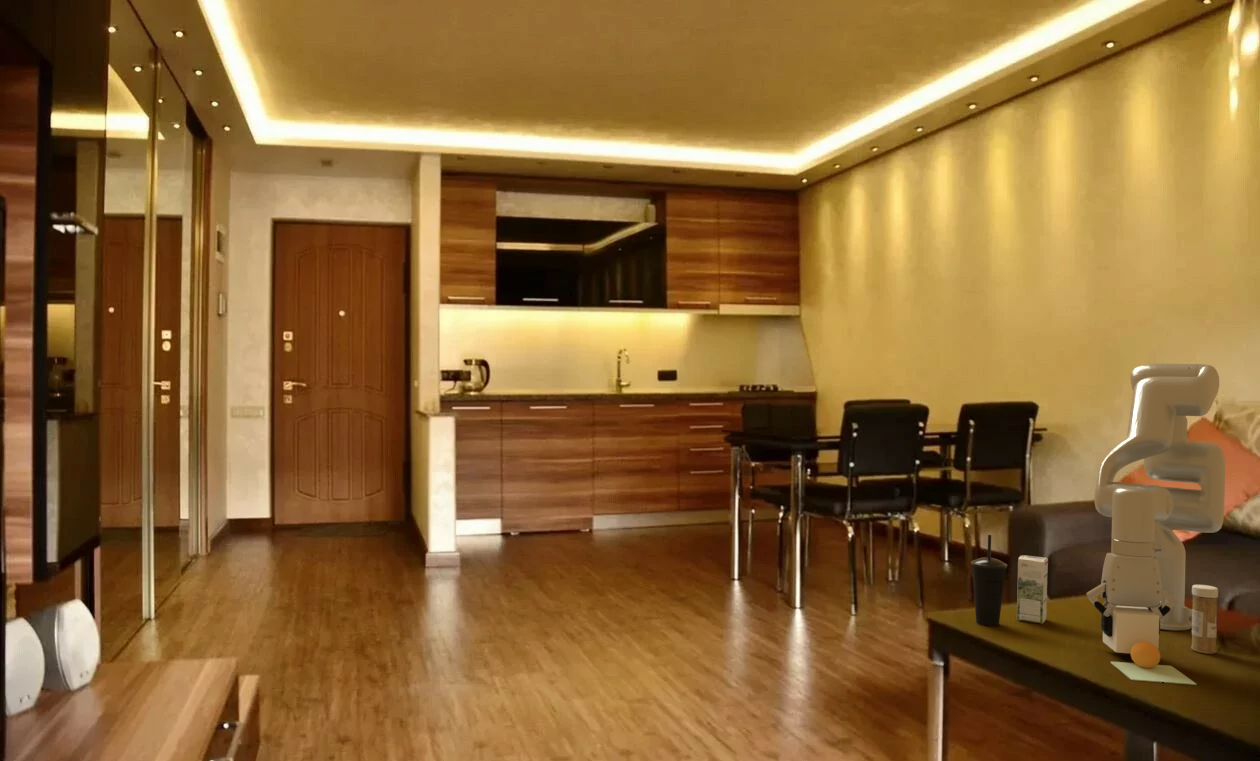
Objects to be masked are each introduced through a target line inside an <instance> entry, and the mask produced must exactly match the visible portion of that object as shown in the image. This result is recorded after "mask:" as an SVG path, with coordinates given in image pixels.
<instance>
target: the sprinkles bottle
mask: <svg viewBox="0 0 1260 761" xmlns="http://www.w3.org/2000/svg"><path fill="white" fill-rule="evenodd" d="M1191 595H1192V608H1191V609H1192V620H1191V623H1192V628H1191V637H1192V638H1191V646H1190V649H1191V651H1194V652H1197V653H1200V654H1206V655H1213V654H1216V653H1217V632H1218V631H1217V622H1218V621H1217V619H1218V618H1217V616H1218V615H1217V603H1218V601H1217V600H1218V597H1219V589H1218V587H1216V586H1213V585H1207V584H1193V585H1192V587H1191Z"/></svg>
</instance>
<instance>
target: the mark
mask: <svg viewBox="0 0 1260 761" xmlns="http://www.w3.org/2000/svg"><path fill="white" fill-rule="evenodd" d="M1110 664H1111V665H1113V666H1114V667H1116V669H1117V670H1118V671H1120V672H1121V673H1122V674H1123V675H1125V676H1126V677H1127V678H1128V679H1129V680H1131V681H1136V682H1149V683H1150V682H1151V683H1162V682H1164V684H1175V685H1176V684H1177V685H1191V686H1197V683H1196V682H1194V681H1193V680H1192V679H1191V678H1189V677H1187V676H1186V675H1185V674H1184V673H1182V672H1180V671H1179V670H1177V668H1175V667H1173V666H1172V665H1166V664H1164V665H1163V664H1157V665H1156V666H1155V667H1153V668H1142V667H1140V666H1138V665H1137V664H1136V663H1135V662H1125V661H1123V662H1122V661H1121V662H1120V661H1110Z"/></svg>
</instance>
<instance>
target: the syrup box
mask: <svg viewBox="0 0 1260 761" xmlns="http://www.w3.org/2000/svg"><path fill="white" fill-rule="evenodd" d="M1017 560H1018V561H1017V593H1016V596H1017V597H1016V598H1017V600H1016V601H1017V602H1016V620H1017V621H1021V622H1029V623H1034V624H1036V623H1037V624H1044V623H1045V621H1046V620H1047V598H1048V595H1047V593H1048V569H1049V567H1048V566H1049V561H1048V560H1049V559H1048V557H1043V556H1042V557H1041V556H1034V555H1033V556H1032V555H1025V554H1024V555H1022V554H1021V555H1020V556H1019V557H1018V559H1017Z"/></svg>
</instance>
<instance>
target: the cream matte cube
mask: <svg viewBox="0 0 1260 761" xmlns="http://www.w3.org/2000/svg"><path fill="white" fill-rule="evenodd" d="M1111 617H1112V618H1113V627H1112V636H1111V637H1108V636H1107V635H1106V634H1104V632H1103V631H1102V642H1103V643H1104V644H1105V645H1106V646H1107V647H1109V648H1110V649H1111V650H1113V651H1114V652H1115V653H1122V654H1131V649H1132V647H1133V645H1135V644H1136V643H1138V642H1141V641H1145V642H1149V643H1152V644H1153V645H1155V646H1156V647H1157V649H1158V650H1159V644H1160V643H1159V640H1160V634H1159V615H1157V614H1156V613H1154V612H1152V611H1151V610H1148V608H1146V607H1132V606H1118V605H1117V606H1116V607H1115V609H1114V610H1113V611H1112V613H1111Z"/></svg>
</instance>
